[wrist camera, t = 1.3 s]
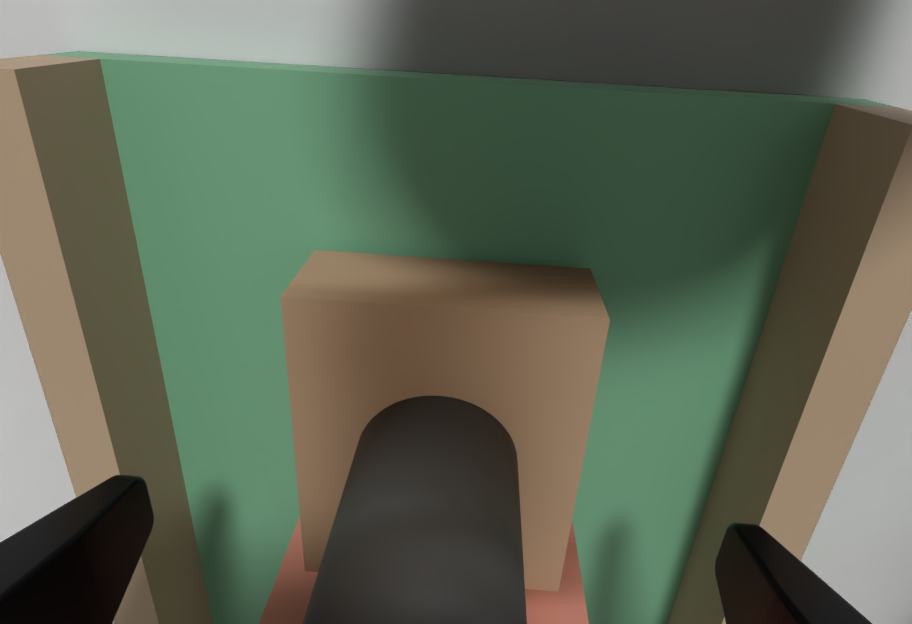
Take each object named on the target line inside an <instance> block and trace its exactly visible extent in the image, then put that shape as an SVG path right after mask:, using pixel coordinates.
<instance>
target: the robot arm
mask: <svg viewBox="0 0 912 624" xmlns="http://www.w3.org/2000/svg"><path fill="white" fill-rule="evenodd" d="M153 524H154V512H153V508H152V504H151V500H150V496H149V491H148V487H147V484H146V481H145V480H144V478H142V477H140V476H131V475H115V476H112V477H110V478H109V479H107V480H105V481H104V482H102V483H100V484H98V485H97V486H95V487H93V488H92V489H90V490H88V491H87V492H85V493H83V494H82V495H80V496H78V497H76V498H75V499H73V500H71V501H70V502H68V503H66V504H65V505H63V506H61V507H60V508H58V509H56V510H54V511H53V512H51V513H49V514H48V515H46V516H44V517H43V518H41V519H39V520H37V521H36V522H34V523H32V524H31V525H29V526H27V527H26V528H24V529H22V530H21V531H19V532H17V533H15V534H14V535H12V536H10V537H9V538H7V539H5V540H4V541H2V542H0V624H112V622H113V620H114V618H115V616H116V613H117V611H118V609H119V607H120V604H121V602H122V600H123V597H124V595H125V593H126V590H127V588H128V585H129V583H130V581H131V578H132V576H133V574H134V571H135V569H136V567H137V564H138V562H139V560H140V557H141V555H142V553H143V550H144V548H145V546H146V543H147V541H148V539H149V536H150V534H151V531H152V528H153ZM715 576H716V581H717V585H718V590H719V594H720V599H721V603H722V608H723V612H724V617H725V621H726V624H872V623H871V622H870V621H869V620H868V619H866V618H865V617H864V616H863V615H862V614H861V613H860V612H858V611H857V610H856V609H855V608H854V607H853V606H851V605H850V604H849V603H848V602H847V601H846V600H845V599H843V598H842V597H841V596H840V595H839V594H838V593H837V592H835V591H834V590H833V589H832V588H831V587H830V586H829V585H827V584H826V583H825V582H824V581H823V580H822V579H821V578H819V577H818V576H817V575H816V574H815V573H814V572H813V571H811V570H810V569H809V568H808V567H807V566H806V565H805V564H803V563H802V562H801V561H800V560H799V559H798V558H797V557H795V556H794V555H793V554H792V553H791V552H790V551H789V550H787V549H786V548H785V547H784V546H783V545H782V544H781V543H779V542H778V541H777V540H776V539H775V538H774V537H773V536H771V535H770V534H769V533H768V532H767V531H766V530H765V529H763V528H762V527H760V526H759V525H756V524H746V523H731V524H730V525H729V526H728V527H727V529H726V531H725V534H724V537H723V540H722V543H721V546H720V548H719V551H718V554H717V557H716V561H715Z"/></svg>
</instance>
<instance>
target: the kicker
mask: <svg viewBox="0 0 912 624" xmlns="http://www.w3.org/2000/svg"><path fill="white" fill-rule="evenodd" d="M281 309H282V320H283V331H284V342H285V354H286V365H287V376H288V387H289V399H290V410H291V421H292V432H293V444H294V455H295V466H296V477H297V489H298V500H299V511H300V517H299V519H298V522H297V525H296V527H295V530H294V533H293V535H292V538H291V540H290V543H289V546H288V548H287V551H286V554H285V556H284V559H283V562H282V564H281V567H280V569H279V572H278V575H277V577H276V580H275V583H274V585H273V588H272V591H271V593H270V596H269V598H268V601H267V604H266V606H265V609H264V612H263V614H262V617H261V620H260V622H259V624H589V621H588V615H587V609H586V602H585V596H584V590H583V583H582V577H581V571H580V564H579V558H578V552H577V545H576V539H575V533H574V527H573V520H572V518H573V512H574V507H575V502H576V496H577V491H578V486H579V481H580V475H581V470H582V465H583V460H584V454H585V449H586V444H587V438H588V433H589V428H590V423H591V417H592V412H593V407H594V402H595V396H596V391H597V386H598V380H599V375H600V370H601V365H602V359H603V354H604V349H605V344H606V338H607V333H608V328H609V322H610V319H609V316H608V313H607V311H606V308H605V305H604V303H603V300H602V298H601V295H600V292H599V290H598V287H597V284H596V282H595V279H594V277H593V274H592V271H591V269H589V268H574V267H559V266H545V265H530V264H516V263H501V262H486V261H472V260H457V259H443V258H428V257H413V256H399V255H384V254H369V253H355V252H340V251H326V250H314V252H313V253H312V254H311V256H310V257H309V259H308V260H307V261H306V263H305V264H304V265H303V267H302V268H301V269H300V271H299V272H298V273H297V275H296V276H295V278H294V279H293V280H292V282H291V283H290V284H289V286H288V287H287V288H286V290H285V291H284V292H283V294H282V295H281Z"/></svg>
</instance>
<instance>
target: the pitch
mask: <svg viewBox="0 0 912 624" xmlns="http://www.w3.org/2000/svg"><path fill="white" fill-rule="evenodd" d="M314 250H326V251H340V252H355V253H369V254H384V255H399V256H413V257H428V258H443V259H457V260H472V261H486V262H501V263H516V264H530V265H545V266H559V267H574V268H589V269H591V271H592V274H593V277H594V279H595V282H596V284H597V287H598V290H599V292H600V295H601V298H602V300H603V303H604V305H605V308H606V311H607V313H608V316H609V319H610V322H609V328H608V333H607V338H606V344H605V349H604V354H603V359H602V365H601V370H600V375H599V380H598V386H597V391H596V396H595V402H594V407H593V412H592V417H591V423H590V428H589V433H588V438H587V444H586V449H585V454H584V460H583V465H582V470H581V475H580V481H579V486H578V491H577V496H576V502H575V507H574V512H573V518H572V520H573V527H574V533H575V539H576V545H577V552H578V558H579V564H580V571H581V577H582V583H583V590H584V596H585V602H586V609H587V615H588V621H589V624H726V621H725V617H724V612H723V608H722V603H721V599H720V594H719V590H718V585H717V581H716V576H715V561H716V557H717V554H718V551H719V548H720V546H721V543H722V540H723V537H724V534H725V531H726V529H727V527H728V526H729V525H730V524H731V523H746V524H756V525H759V526H760V527H762V528H763V529H765V530H766V531H767V532H768V533H769V534H770V535H771V536H773V537H774V538H775V539H776V540H777V541H778V542H779V543H781V544H782V545H783V546H784V547H785V548H786V549H787V550H789V551H790V552H791V553H792V554H793V555H794V556H795V557H797V558H798V559H799V560H800V561H801V559H802V556H803V554H804V552H805V550H806V547H807V545H808V543H809V540H810V538H811V536H812V534H813V531H814V529H815V527H816V525H817V522H818V520H819V518H820V516H821V513H822V511H823V509H824V507H825V504H826V502H827V500H828V498H829V495H830V493H831V491H832V488H833V486H834V484H835V482H836V479H837V477H838V475H839V473H840V470H841V468H842V466H843V464H844V461H845V459H846V457H847V455H848V452H849V450H850V448H851V446H852V443H853V441H854V439H855V436H856V434H857V432H858V430H859V427H860V425H861V423H862V421H863V418H864V416H865V414H866V412H867V409H868V407H869V405H870V403H871V400H872V398H873V396H874V394H875V391H876V389H877V387H878V384H879V382H880V380H881V378H882V375H883V373H884V371H885V369H886V366H887V364H888V362H889V360H890V357H891V355H892V353H893V351H894V348H895V346H896V344H897V342H898V339H899V337H900V335H901V332H902V330H903V328H904V326H905V323H906V321H907V319H908V317H909V314H910V312H911V310H912V111H910V110H906V109H902V108H898V107H894V106H890V105H885V104H881V103H877V102H873V101H869V100H865V99H850V98H834V97H818V96H801V95H785V94H768V93H752V92H736V91H719V90H703V89H686V88H670V87H654V86H637V85H621V84H604V83H588V82H572V81H555V80H539V79H522V78H506V77H490V76H473V75H457V74H440V73H424V72H408V71H391V70H375V69H358V68H342V67H326V66H309V65H293V64H276V63H260V62H244V61H227V60H211V59H194V58H178V57H162V56H145V55H129V54H112V53H96V52H80V51H77V52H67V53H57V54H47V55H37V56H27V57H17V58H7V59H0V253H1V257H2V260H3V263H4V266H5V269H6V273H7V276H8V279H9V282H10V286H11V289H12V292H13V295H14V298H15V302H16V305H17V308H18V311H19V314H20V318H21V321H22V324H23V327H24V331H25V334H26V337H27V340H28V343H29V347H30V350H31V353H32V356H33V359H34V363H35V366H36V369H37V372H38V376H39V379H40V382H41V385H42V388H43V392H44V395H45V398H46V401H47V404H48V408H49V411H50V414H51V417H52V421H53V424H54V427H55V430H56V433H57V437H58V440H59V443H60V446H61V449H62V453H63V456H64V459H65V462H66V466H67V469H68V472H69V475H70V478H71V482H72V485H73V488H74V491H75V494H76V497H78V496H80V495H82V494H83V493H85V492H87V491H88V490H90V489H92V488H93V487H95V486H97V485H98V484H100V483H102V482H104V481H105V480H107V479H109V478H110V477H112V476H115V475H131V476H140V477H142V478H144V480H145V481H146V484H147V487H148V491H149V496H150V500H151V504H152V508H153V512H154V524H153V528H152V531H151V534H150V536H149V539H148V541H147V543H146V546H145V548H144V550H143V553H142V555H141V557H140V560H139V562H138V564H137V567H136V569H135V571H134V574H133V576H132V578H131V581H130V583H129V585H128V588H127V590H126V593H125V595H124V597H123V600H122V602H121V604H120V607H119V609H118V611H117V613H116V616H115V618H114V620H115V623H116V624H259V622H260V620H261V617H262V614H263V612H264V609H265V606H266V604H267V601H268V598H269V596H270V593H271V591H272V588H273V585H274V583H275V580H276V577H277V575H278V572H279V569H280V567H281V564H282V562H283V559H284V556H285V554H286V551H287V548H288V546H289V543H290V540H291V538H292V535H293V533H294V530H295V527H296V525H297V522H298V519H299V517H300V511H299V500H298V489H297V477H296V466H295V455H294V444H293V432H292V421H291V410H290V399H289V387H288V376H287V365H286V354H285V342H284V331H283V320H282V309H281V295H282V294H283V292H284V291H285V290H286V288H287V287H288V286H289V284H290V283H291V282H292V280H293V279H294V278H295V276H296V275H297V273H298V272H299V271H300V269H301V268H302V267H303V265H304V264H305V263H306V261H307V260H308V259H309V257H310V256H311V254H312V253H313V252H314Z"/></svg>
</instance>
